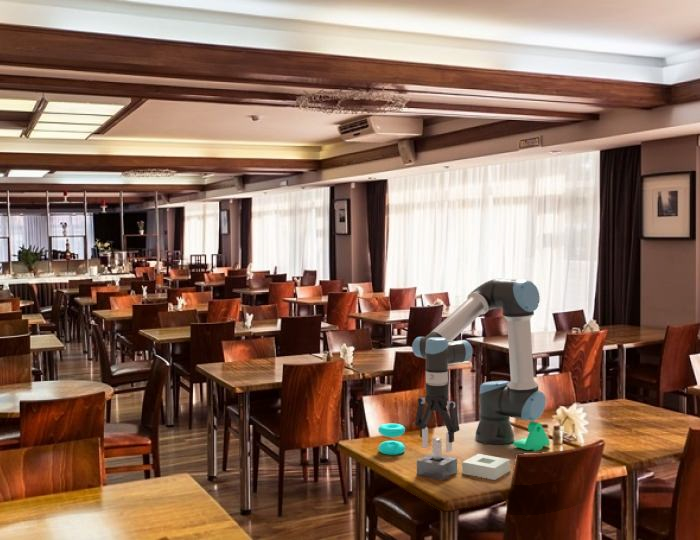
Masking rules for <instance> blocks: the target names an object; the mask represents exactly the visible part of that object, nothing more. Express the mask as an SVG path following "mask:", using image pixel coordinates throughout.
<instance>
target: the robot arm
mask: <svg viewBox="0 0 700 540" xmlns="http://www.w3.org/2000/svg"><path fill="white" fill-rule="evenodd" d="M540 298H541V297H540V293H539V289H538V287H537V285H535V284H534V282H532V281H530V280H527V279H522V278H494V279H490V280H488V281H486V282H484V283H482V284H481V285H479V286H477V287H476V288H475V289H473V290H471V292H470V293H469V294H468V295H467V298H466V300H465V301H464V302H463V303H462V304H461V305H459V306H458V307H457V308H456V309H455V310H454V311H453V312H452V313H450V314H449V315H448V316H447V317H446V318H445V319H444V320H443V321H441V323H440V324H438V325H437V326H436V327H435V328H434V329H432V330H431V332H430V333H428V334H427V335H426V336H417V337H416V338H415V339H414V340H413V342H412V344H411V348H412V349H411V350H412V352H413V354H414V356H416V357H418V358H422V359H424V360H425V383H426V384H425V397H424V396H421V397H418V398H417V403H418V405H417V406H418V407H417V409H416V410H417V411H416V416H415V422H414V426H415V427H419V434H420V435H419V437H420V438H421V446H422V447H421V448H422V449H425V448H429V427H427V425H428V422H429V420H430V418H431V416H432V413H433V412H434V411H435V412H439V414H440V415H441V417H442V420H443V422H444V423H443V424H444V425H445V427H446V430H447V432H446V433H445V451H446V453H448V454H449V453H451V452H453V443H454V442H455V433H456V432H460V425H459V419H458V414H457V402H456V401H450V400H449V398H448V396H449V385H448V383H449V365H451V364H452V365H453V364H458V363H465V362H467V361H469V360H471V358H472V356H473V346H472V345H471V343H470V342H469V341H468V340H466V339H462V340H460V339H458V340H455V339H456V338H457V337H458V336H459V335H460V334H461V333H462V332H463V331H465V329H466V328H468V326H470V325H471V324H472V323H474V321H475V320H476V319H478V317H479V316H480V315H485V314H486V313H488V312H489V311H491V310H495V309H498V310H501V311H502V317H503V318H505V319H506V324H507V326H506V327H507V340H508V341H507V342H508V353H509V355H508V356H509V372H510V374H509V375H510V381H508V380H492V381H486V382H483V383H481V384H480V387H479V393H478V394H479V422H478V424H477V427H476V431H475V440H476V441H478V442H479V443H484V444H489V445H490V444H491V445H505V444H511V443H513V441H515V434H514V430H513V427H512V424H511V418H513V419H519V420H522V421H528V422H529V421H530V422H536V421H537V420H538V419H539V418H541V416H542V415H543V413H544V412H545V410H546V409H545V407H546V401H547V399H546V395H545V393H544V392H543V391H541V390H539V383H538V382H537V381H535V378H534V376H535V375H534V363H533V345H532V330H531V318H532V317H534V315H535V312H534V311H536V310H537V309H538V307H539V304H540V301H541V299H540ZM425 405H427V407H426V406H425ZM425 408H426V410H425ZM448 409H449V410H448Z"/></svg>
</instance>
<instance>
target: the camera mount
mask: <svg viewBox="0 0 700 540" xmlns="http://www.w3.org/2000/svg"><path fill="white" fill-rule="evenodd" d="M527 430H528V435H527V437H526V438H522V439H518V440H517V439H516V440H514V441H513V442H512V443H513V445H512V446H513V447H516V448H519V449H523V450H526V451H529V450H530V451H533V450H534V451H539V450H542V449H543V448H544V447H546V446H549V445H550V440H549V438H548V436H547V434H546V431H545V429H544V427H543V425H542V423H539V422H536V421H530V422H529V423H528V424H527Z"/></svg>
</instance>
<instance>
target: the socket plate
mask: <svg viewBox="0 0 700 540" xmlns="http://www.w3.org/2000/svg"><path fill="white" fill-rule="evenodd" d="M461 463H462V464H461V465H462V466H461V467H462V469H461V472H462V474H463V475H467V476H472V477H476V476H477V477H478V478H481V477H482V478H483V479H486V478H487V480H493V481H496V480H498V479H499V478H501V477H502V476H504V475H506V474H507V473H509V472H510V471H511V459H510V458H504V457H498V456H493V455H486V454H482V453H477V454H475V455H473V456H471V457H470V458H468V459H466V460H464V461H462V462H461Z"/></svg>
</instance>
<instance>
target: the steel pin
mask: <svg viewBox="0 0 700 540" xmlns="http://www.w3.org/2000/svg"><path fill="white" fill-rule="evenodd" d="M432 453H433V461H437V462H440V461H441V455H442V438H440V437H433V438H432Z"/></svg>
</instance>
